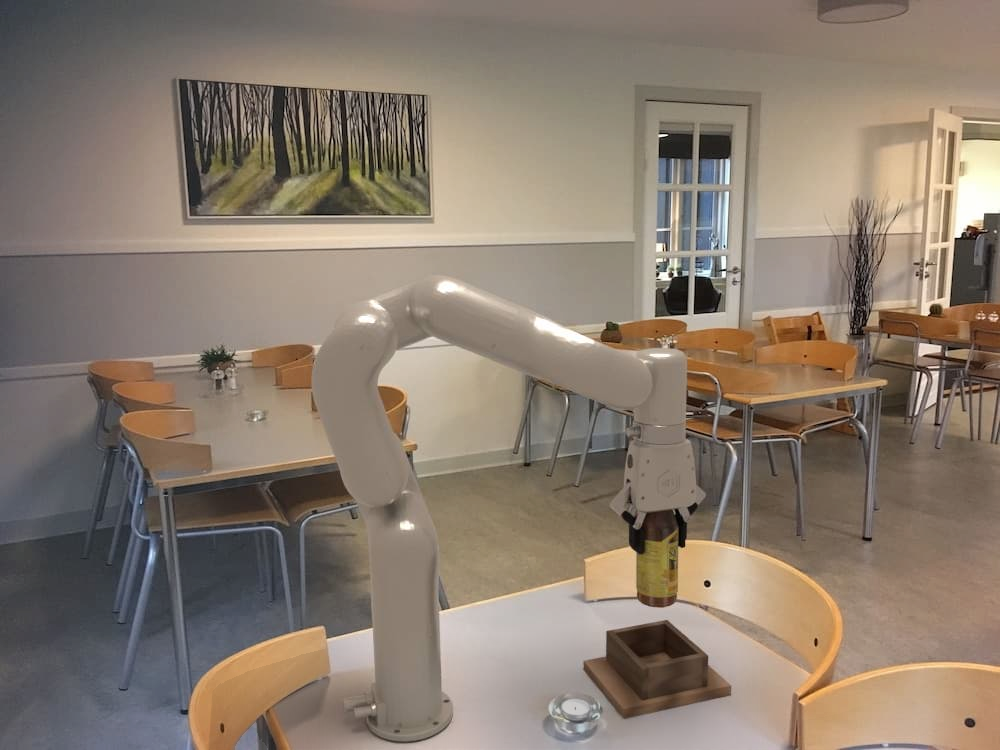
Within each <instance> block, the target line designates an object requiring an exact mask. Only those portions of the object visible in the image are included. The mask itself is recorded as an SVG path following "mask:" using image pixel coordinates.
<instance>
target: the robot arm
mask: <svg viewBox="0 0 1000 750" xmlns="http://www.w3.org/2000/svg"><path fill="white" fill-rule="evenodd" d="M431 337H433V338H436V339H438V340H441V341H442V342H445V343H448V344H450V345H453V346H455V347H457V348H460V349H462V350H465V351H468V352H470V353H472V354H475V355H478V356H481V357H482V358H483V357H484V358H485V359H487V360H488V359H489V360H491V361H493V362H495V363H497V364H500V365H503V366H505V367H507V368H510V369H512V370H515V371H518V372H519V373H522V374H524V375H526V376H530V377H532V378H535V379H539V380H543V381H545V382H548V383H551V384H552V385H553V384H554V385H556V386H558V387H561V388H563V389H565V390H568V391H570V392H573V393H576V394H578V395H580V396H582V397H584V398H587V399H590V400H591V401H595V402H598V403H599V404H602V405H605V406H607V407H610V408H612V409H615V410H620V411H631V410H633V421H632V426H631V427H627V428H626V429H625V434H626V436H627V438H631V437H632V439H633V440H630V441H629V446H628V448H627V453H626V458H625V459H626V460H625V468H624V475H623V476H624V477H623V487H622V488H621V490H620V491H619V492H618V493H617V494H616V496H615V497H614V498H613V499H612V500H611V501H610V502H609V507H610V508H611V509H612V510H613V511H614V512H615V513H616V514H617V515H618V516H619V517H620V518H622V520H624V521H625V522H626V523H627V524H628V544H629V547H630V548H631V550H633V551H634V552H635V553H636V552H637V553H638V554H643V553H644V545H645V530H644V529H643V528H642V527H641V525H642V523H643V520H644V518H645V515H646V513H650V512H658V511H665V510H672V509H673V512H674V515H675V518H676V521H677V523H678V548H680V549H683V548H686V540H687V536H688V523H689V522H690V521H691V519H692V515H693V514H694V512H695V511H696V510H697V509H698V506H699V505H700V504H702V503H701V502H702V501H704V499H705V498H706V496H707V493H706V492H705V491H704V490H703V489H702V488H701V486H699V485H698V484H697V477H696V464H695V455H694V452H693V451H694V450H693V447H692V442H691V440H689V439H686V436H687V435H686V433H687V430H686V429H687V427H686V426H687V390H688V389H687V385H688V384H687V382H688V359H687V356H686V353H684V352H683V351H681V350H680V349H676V348H668V347H652V348H645V349H641V350H633V349H620V348H619V349H618V348H614V347H611V346H609V345H607V344H604V343H602V342H599V341H597V340H594V339H592V338H589V337H587V336H585V335H583V334H580V333H579V332H576V331H574V330H572V329H570V328H568V327H566V326H563V325H562V324H560V323H558V322H557V321H554V320H553V319H550V318H549V317H547V316H546V315H543V314H541V313H538V312H536V311H534V310H531V309H529V308H527V307H524V306H522V305H519V304H517V303H514V302H512V301H510V300H507V299H504V298H503V297H501V296H498V295H496V294H493V293H492V292H491V293H490V292H489V291H487V290H485V289H482V288H479V287H477V286H475V285H472V284H470V283H467V282H465V281H463V280H460V279H458V278H455V277H452V276H447V275H441V274H438V275H437V274H434V275H433V274H432V275H429V276H427V277H423V278H422V279H418V280H416V281H413V282H411V283H408V284H406V285H403V286H400V287H398V288H394V289H393V290H390V291H387V292H384V293H382V294H378V295H376V296H373V297H370V298H366V299H365V300H362V301H358V302H356V303H354V304H352V305H349V306H348V307H346V308H345V309H344V310H342V311H341V313H340V314H339V315H338V317H337V318H336V320H335V322H334V326H333V329H332V330H331V331H330V333H329V334H328V336H327V337H326V338H325V340H324V341H323V342H322V343H321V345H320V347H319V350H318V352H317V353H316V356H315V358H314V362H313V367H312V370H311V371H312V372H311V382H310V384H311V392H312V397H313V398H312V399H313V401H314V405H315V408H316V411H317V413H318V416H319V418H320V421H321V424H322V426H323V429H324V431H325V435H326V438H327V441H328V444H329V445H330V448H331V451H332V453H333V456H334V458H335V461H336V463H337V466H338V469H339V473H340V476H341V480H342V482H343V485H344V488H345V489H346V491H347V492H348V494H349V495H350V496H351V497H352V498H353V499H355V502H356V505H357V507H358V510H359V511H360V512H359V513H360V514H361V517H362V519H363V521H364V525H365V528H366V537H367V544H368V560H369V561H368V562H369V563H368V564H369V576H370V580H369V581H370V601H371V603H370V604H371V606H370V607H371V620H372V636H373V637H372V639H373V640H372V641H373V659H374V678H375V679H374V681H375V682H373V683H371V684H370V689H371V690H369V691H365V692H364V695H363V694H362V695H357V696H356V695H355V696H350V697H349V696H348V697H344V698H343V699H342V707H343V712H344V713H345V714H346V713H350V712H353V714H354V719H356V720H357V719H362V718H365V722H366V725H367V728H369V730H370V731H371V732H372V733H373V734H374V735H376V736H378V737H380V738H382V739H386V740H388V741H394V742H404V743H405V742H416V741H420V740H421V741H422V740H424V739H427V738H430V737H433V736H434V735H437V734H438V733H439V732H441V731H442V730H444V729H446V727H447V726H448V725H449V723H450V722H451V721H452V719H453V715H454V707H453V701H452V699H451V698H450V696H449V695H448V694H447V693H446V692H444V691H442V690H443V688H442V687H443V686H442V658H441V655H442V654H441V651H442V650H441V627H440V623H441V620H440V603H439V601H440V600H439V599H440V598H439V595H440V594H439V580H440V579H439V578H440V577H439V576H440V560H441V558H440V555H441V553H440V550H441V549H440V543H439V537H438V532H437V530H436V527H435V524H434V521H433V519H432V516H431V514H430V512H429V511H430V510H429V509H428V506H427V503H426V501H425V498H424V496H423V494H422V492H421V489H420V486H419V483H418V481H417V479H416V477H415V473H414V471H413V468H412V465H411V463H410V460H409V457H408V455H407V452H406V449H405V447H404V445H403V443H402V441H401V438H399V436H398V435H397V434H396V433H395V432H394V430H393V428H392V427H393V426H392V425H391V422H390V419H389V418H388V414H387V411H386V408H385V406H384V402H383V400H382V398H381V395H380V391H379V386H378V385H379V384H378V382H379V377H380V374H381V371H382V370H383V369H384V367H385V366H387V364H388V363H390V361H391V360H392V359H393V357H394V355H395V353H396V351H398V350H400V349H403V348H406V347H408V346H412V345H414V344H416V343H419V342H421V341H424V340H426V339H429V338H431ZM625 504H628V505H630V507H629V510H627V509H626V508H625Z"/></svg>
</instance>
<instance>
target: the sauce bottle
mask: <svg viewBox="0 0 1000 750" xmlns="http://www.w3.org/2000/svg"><path fill="white" fill-rule="evenodd" d="M641 527H642V528H643V529H644V530H645V545H644V553H643V554H638V553H637V552H636V551H635V554H636V555H635V557H636V559H635V560H636V564H635V569H636V570H635V575H636V578H635V580H636V583H635V584H636V598H637V601H638V602H640V603H641V604H642V605H644V606H647V607H651V608H659V609H660V608H661V609H663V608H667V607H671V606H673V605H674V604H675V603H676V601H677V598H678V591H679V589H678V588H679V583H678V582H679V546H678V523H677V521H676V518H675V514H674V511H673V509H672V510H665V511H658V512H650V513H646V515H645V518H644V520H643V523H642V525H641Z"/></svg>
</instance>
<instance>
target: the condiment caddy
mask: <svg viewBox="0 0 1000 750" xmlns="http://www.w3.org/2000/svg"><path fill="white" fill-rule="evenodd" d="M605 635H606V637H605V639H606V640H605V641H606V642H605V644H606V646H605V652H606V654H605V656H601V657H596V658H590V659H585V660H583V671H584V672H585V673H586V674H587V675H588V677H589V678H590V679H591V681H592V682H593V683H594V684H595V685H596V687H597V688H598V689H599V691H600V692H601V693H602V694H603V696H605V698H606V699H607V700H608V701H609V703H610V704H611V705H612V707H613V708H614V709H615V710H616V711H617V712H618V714H619V715H620V716H621V717H622V718H623V719H624V718H625V719H628V718H633V717H638V716H641V715H645V714H646V715H647V714H650V713H654V712H660V711H664V710H669V709H674V708H678V707H683V706H687V705H690V704H695V703H699V702H704V701H708V700H713V699H714V700H715V699H718V698H722V697H727V696H730V695H732V684H731V683H729V682H728V681H727V680H726V679H724V677H722V676H721V675H720V674H719V673H718V672H717V671H716V670H715V669H713V667H712V666H710V665H709V655H708V654H707V653H706V652H705V651H703V650H702V649H701V648H700V647H699V646H698V645H696V643H695V642H693V641H692V640H691V639H690V638H689V637H688V636H686V635H685V634H684V633H683V632H682V631H681V630H679V629H678V628H677V627H676V626H675V625H674V624H673V623H671V622H670V621H669V620H668V619H664V620H658V621H654V622H653V621H652V622H648V623H643V624H637V625H632V626H627V627H621V628H615V629H610V630H606V633H605Z"/></svg>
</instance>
